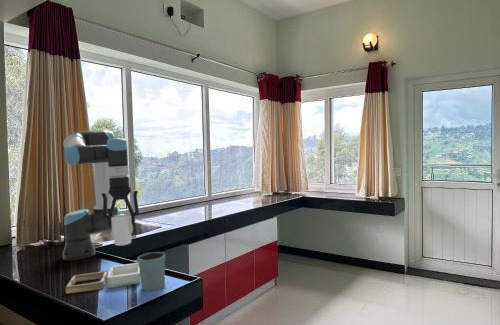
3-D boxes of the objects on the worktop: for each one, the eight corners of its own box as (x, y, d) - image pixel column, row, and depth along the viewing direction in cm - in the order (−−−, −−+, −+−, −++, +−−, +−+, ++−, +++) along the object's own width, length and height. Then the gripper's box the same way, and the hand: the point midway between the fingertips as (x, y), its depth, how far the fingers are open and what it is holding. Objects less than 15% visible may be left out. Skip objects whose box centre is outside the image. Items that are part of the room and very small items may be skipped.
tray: (111, 275, 142) (111, 266, 142) (141, 271, 145) (140, 262, 145) (107, 288, 129) (106, 278, 128) (140, 283, 132) (139, 273, 132)
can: (133, 241, 140) (131, 212, 139) (128, 245, 133) (126, 215, 133) (117, 242, 139) (115, 213, 139) (112, 246, 133) (109, 216, 133)
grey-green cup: (140, 294, 122) (138, 261, 121) (138, 284, 131) (136, 254, 131) (168, 288, 126) (167, 256, 125) (164, 279, 135) (162, 249, 135)
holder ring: (74, 281, 138) (73, 275, 137) (108, 276, 141) (107, 270, 141) (66, 294, 125) (65, 287, 125) (103, 288, 129) (103, 282, 129)
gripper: (91, 179, 129) (95, 238, 130) (143, 175, 134) (146, 232, 135) (95, 177, 136) (98, 233, 137) (143, 174, 142) (147, 228, 142)
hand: (122, 233), depth 136 cm, fingers closed on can, 6 cm apart
